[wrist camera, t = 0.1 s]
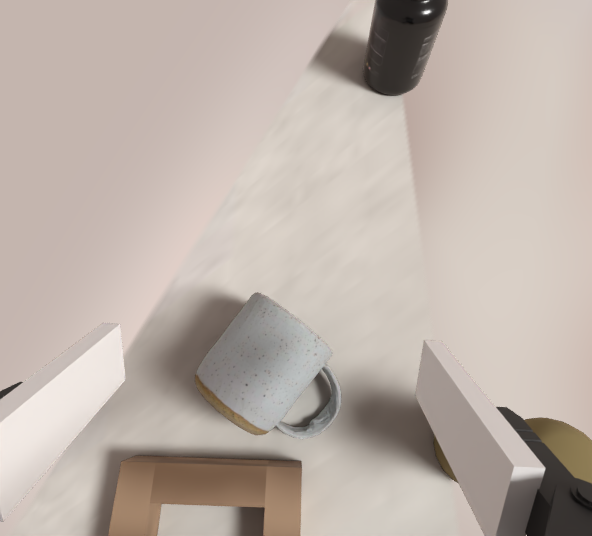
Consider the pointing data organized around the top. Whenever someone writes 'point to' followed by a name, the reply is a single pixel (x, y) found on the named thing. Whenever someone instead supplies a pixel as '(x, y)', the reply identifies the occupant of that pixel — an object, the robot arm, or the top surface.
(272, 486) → the socket block
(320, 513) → the top surface
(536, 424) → the olive rounded upright piece
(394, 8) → the supplement bottle
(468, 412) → the robot arm
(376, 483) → the top surface
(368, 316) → the top surface
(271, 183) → the top surface
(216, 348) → the ceramic mug
